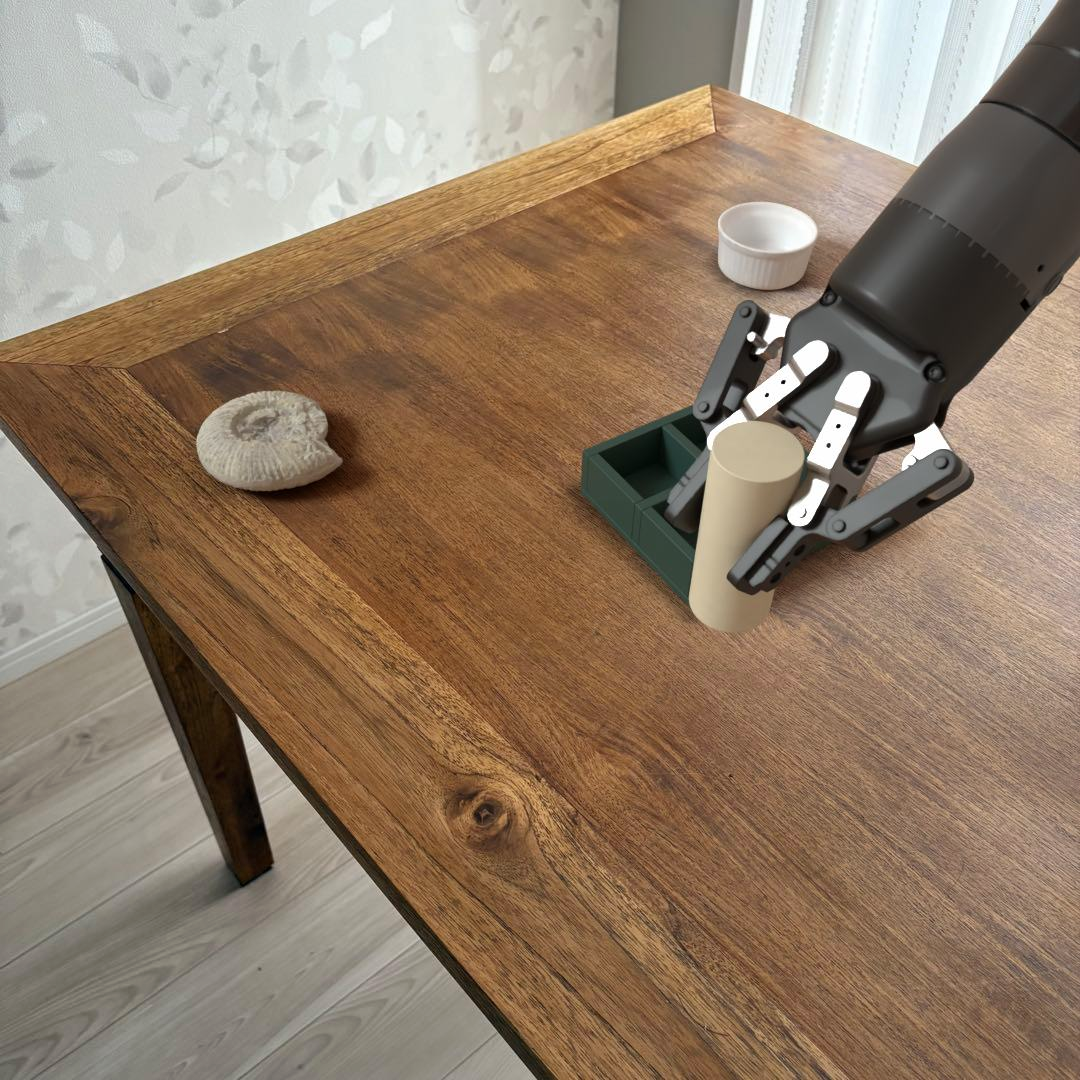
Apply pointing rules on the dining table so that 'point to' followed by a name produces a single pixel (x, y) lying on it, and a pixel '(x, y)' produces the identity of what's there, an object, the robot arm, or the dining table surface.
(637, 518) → the grid
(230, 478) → the fossil
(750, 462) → the cylinder
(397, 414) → the dining table surface
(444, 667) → the dining table surface
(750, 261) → the ramekin
